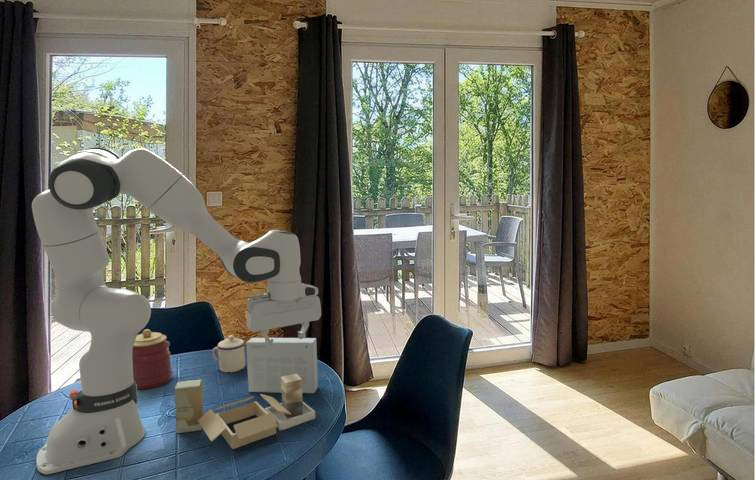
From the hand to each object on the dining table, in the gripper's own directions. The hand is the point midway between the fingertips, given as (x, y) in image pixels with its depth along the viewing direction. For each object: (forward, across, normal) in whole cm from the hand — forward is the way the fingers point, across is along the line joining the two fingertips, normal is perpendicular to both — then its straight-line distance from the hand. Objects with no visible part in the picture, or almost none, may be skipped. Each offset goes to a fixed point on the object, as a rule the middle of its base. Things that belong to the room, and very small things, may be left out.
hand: (285, 341), depth 119 cm
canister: (+21, -25, +50) cm, 60 cm away
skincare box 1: (+22, -22, +11) cm, 33 cm away
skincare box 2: (+21, +7, +17) cm, 28 cm away
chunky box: (+21, +2, +1) cm, 21 cm away
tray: (+21, +1, 0) cm, 21 cm away
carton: (+21, -11, +1) cm, 24 cm away
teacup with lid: (+21, -1, +45) cm, 50 cm away
